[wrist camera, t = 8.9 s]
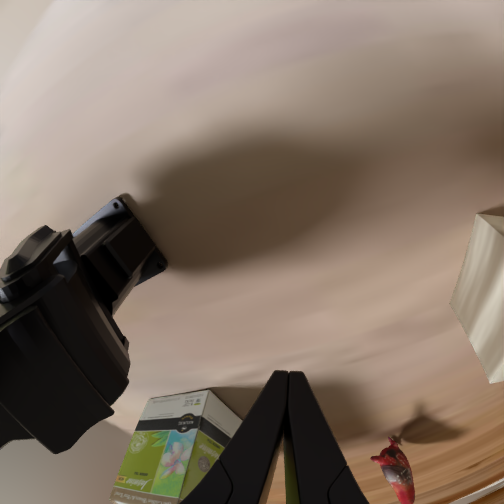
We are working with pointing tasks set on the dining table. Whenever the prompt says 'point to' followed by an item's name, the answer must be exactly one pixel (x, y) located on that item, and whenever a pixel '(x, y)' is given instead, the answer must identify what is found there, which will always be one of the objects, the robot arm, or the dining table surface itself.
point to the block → (484, 294)
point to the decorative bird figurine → (397, 472)
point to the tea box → (173, 448)
